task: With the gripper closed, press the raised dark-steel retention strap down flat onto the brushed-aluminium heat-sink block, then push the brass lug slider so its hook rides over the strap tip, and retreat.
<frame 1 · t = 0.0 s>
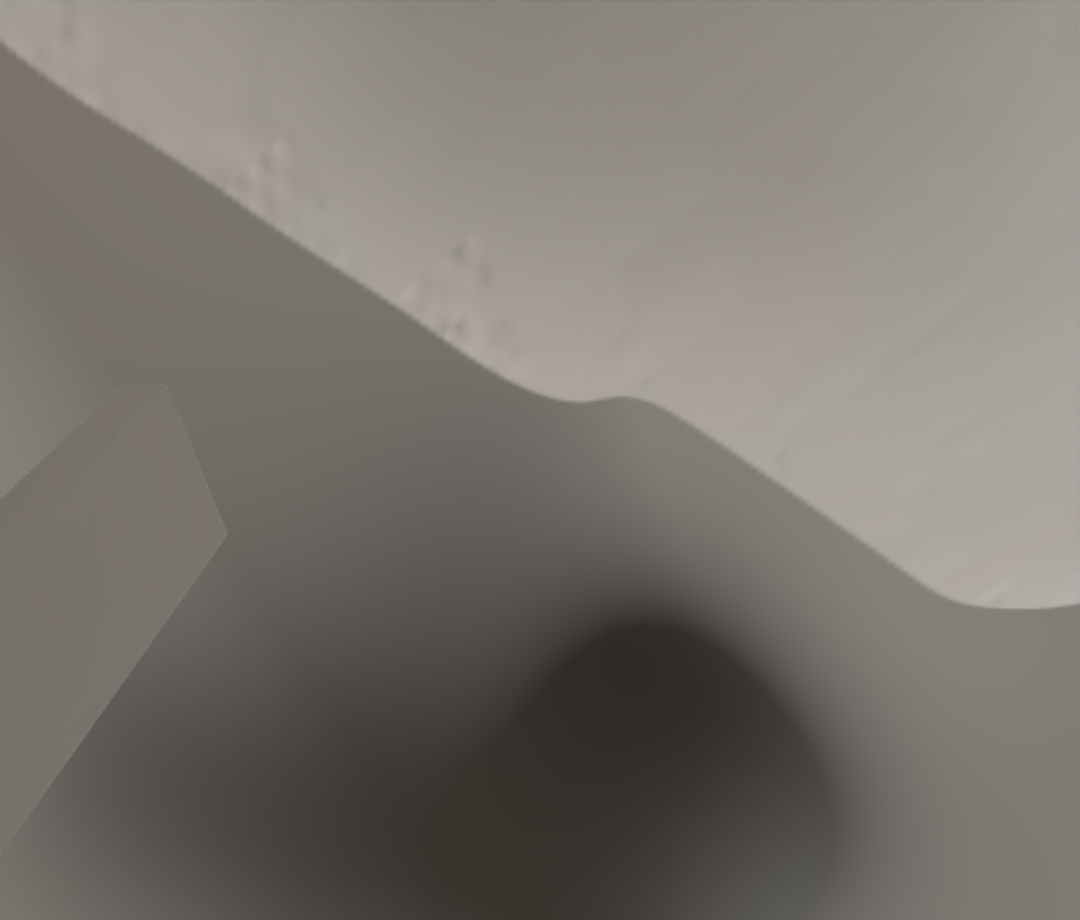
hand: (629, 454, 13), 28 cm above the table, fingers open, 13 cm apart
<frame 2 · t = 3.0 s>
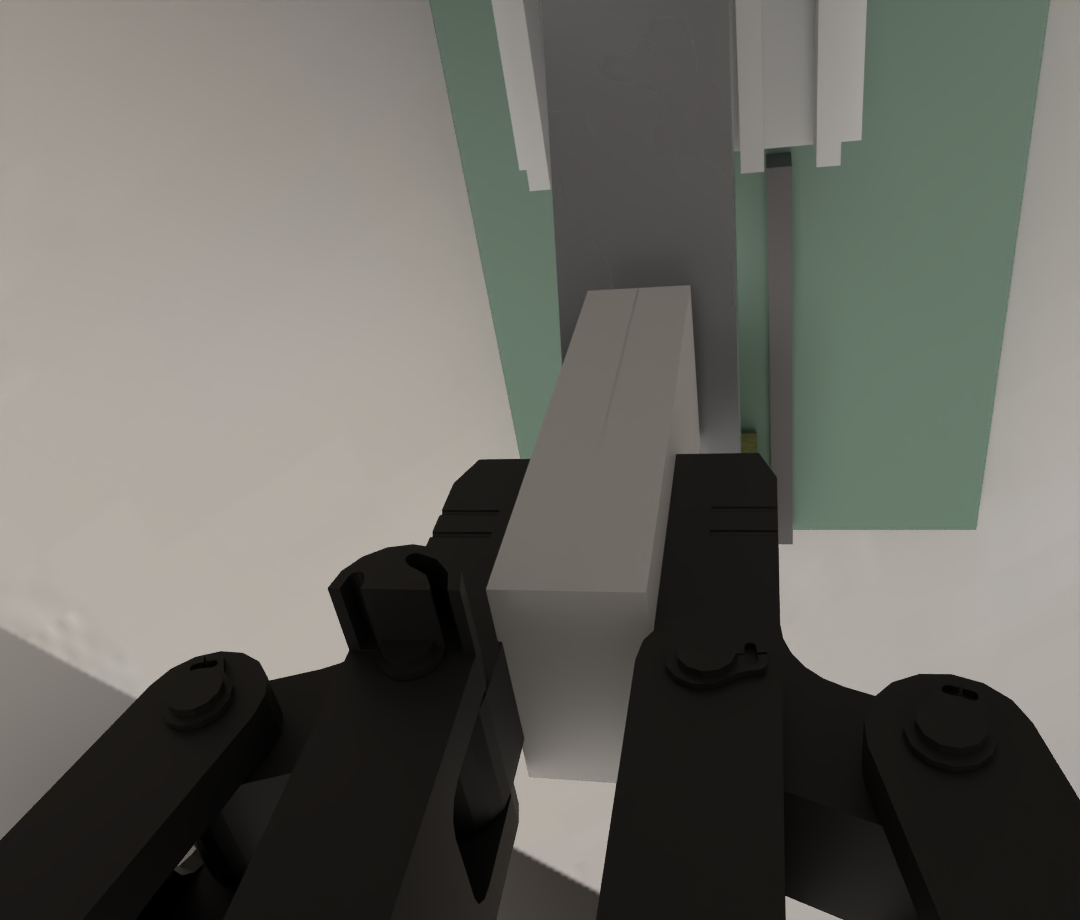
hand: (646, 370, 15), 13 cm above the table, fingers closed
lug: (699, 508, 26), point 5 cm above the table, slide at 0.0 cm
board: (727, 51, 24), on the table
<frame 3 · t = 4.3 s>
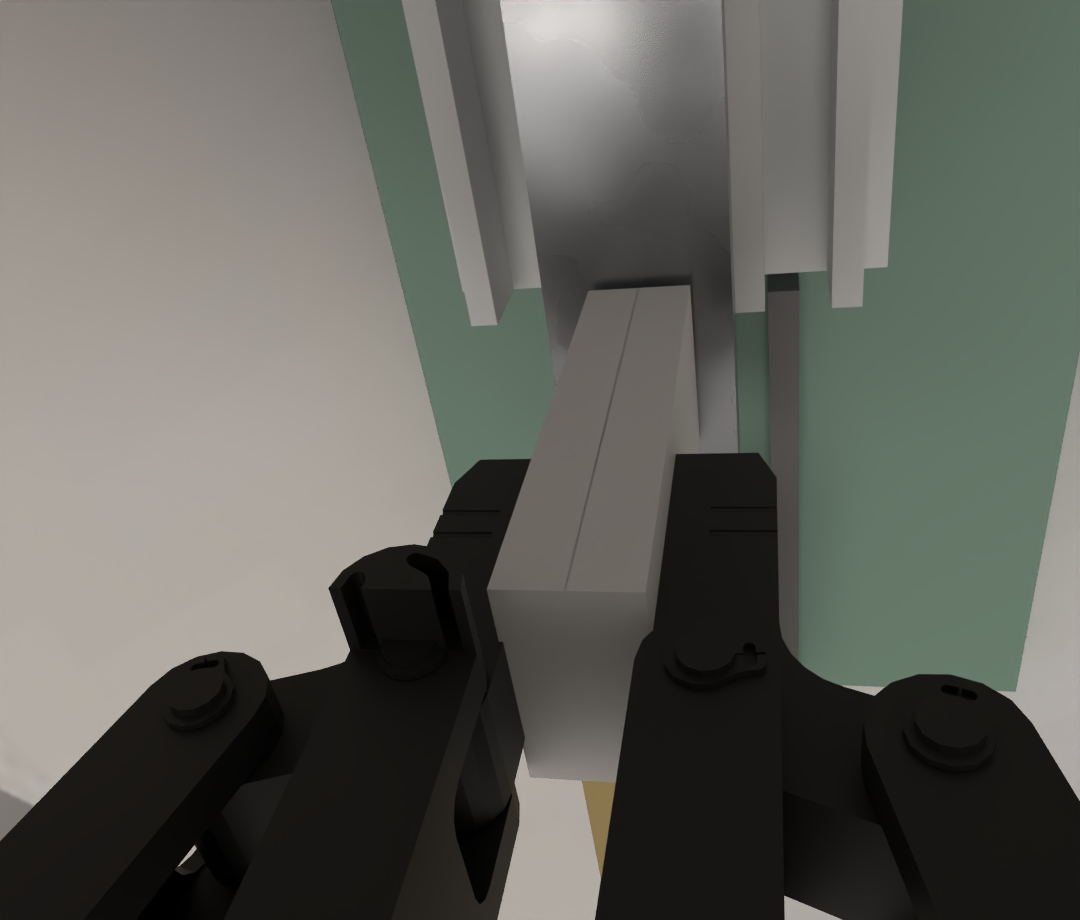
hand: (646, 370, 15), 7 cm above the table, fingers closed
lug: (685, 692, 21), point 5 cm above the table, slide at 0.0 cm
strap: (617, 44, 13), point 6 cm above the table, hinge at 3.2°, touching gripper
board: (719, 145, 20), on the table
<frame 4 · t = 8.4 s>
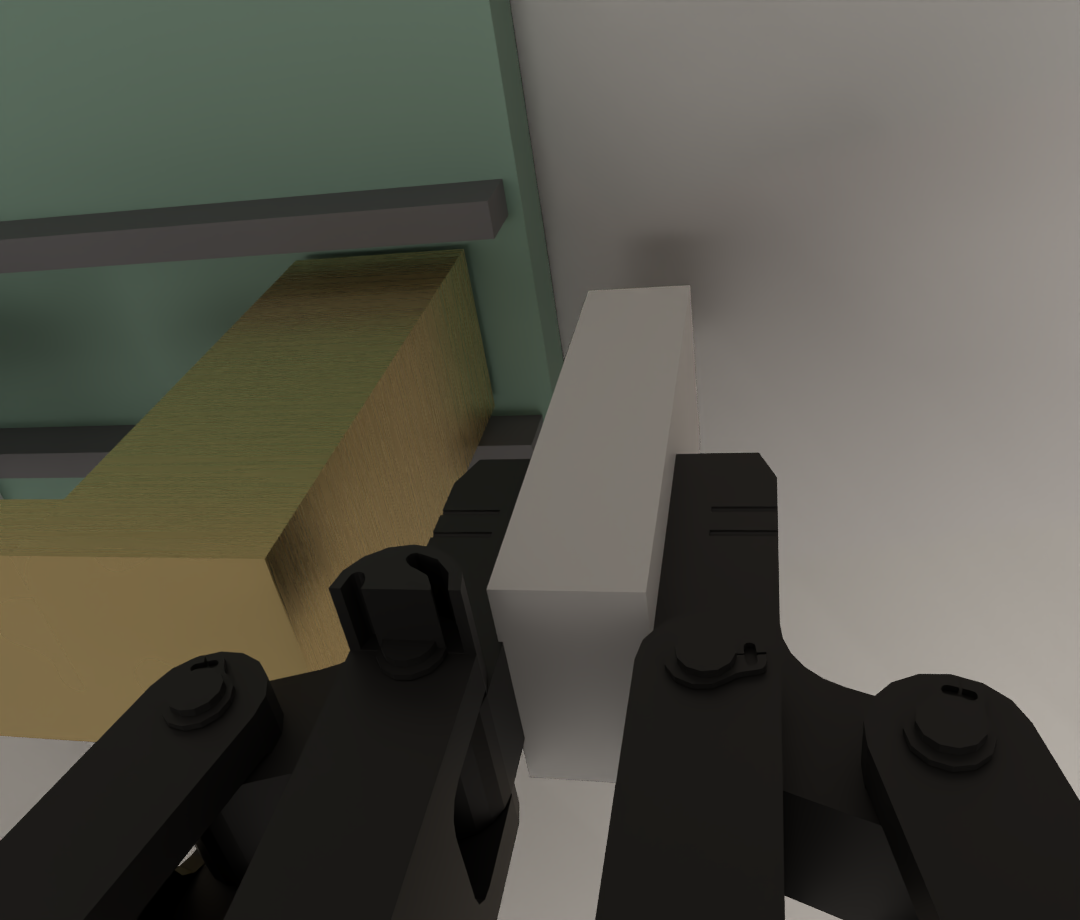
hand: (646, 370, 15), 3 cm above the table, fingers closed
lug: (206, 462, 14), point 5 cm above the table, slide at 0.0 cm, touching gripper
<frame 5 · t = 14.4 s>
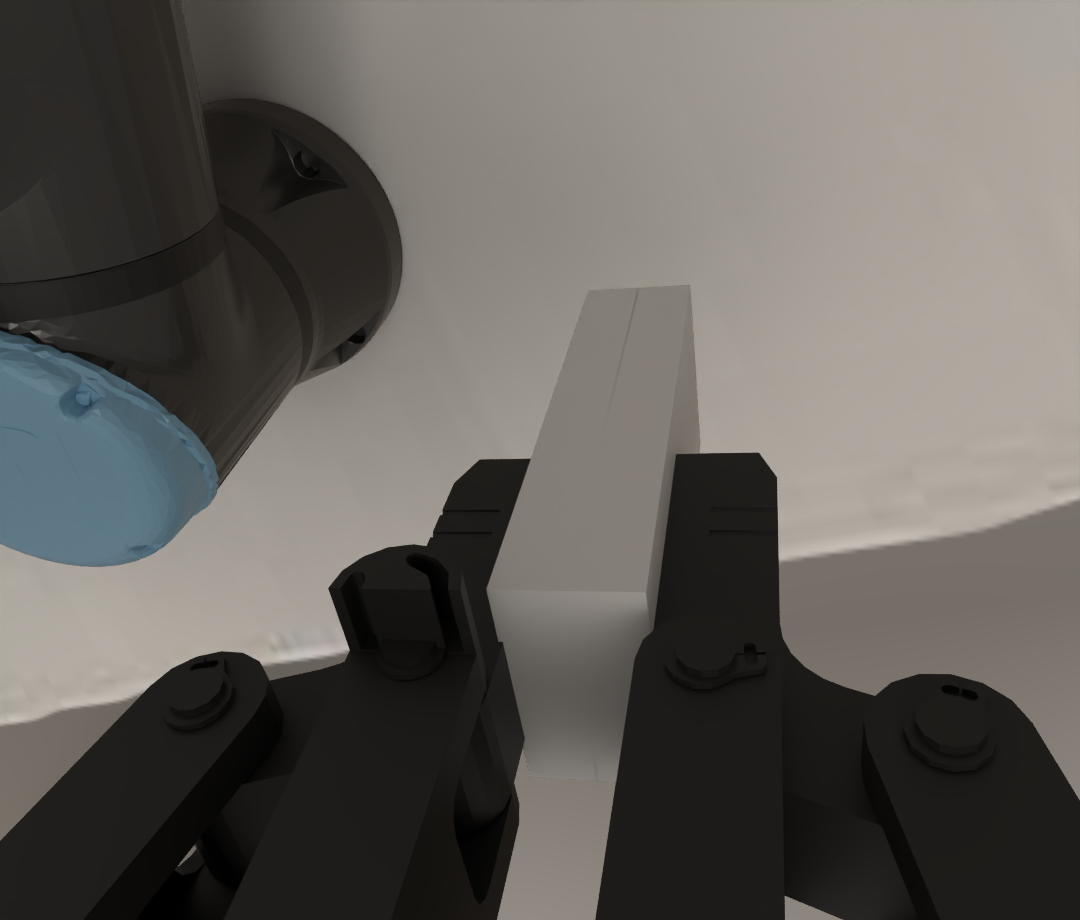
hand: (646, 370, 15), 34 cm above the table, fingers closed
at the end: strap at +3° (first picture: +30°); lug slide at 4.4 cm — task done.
